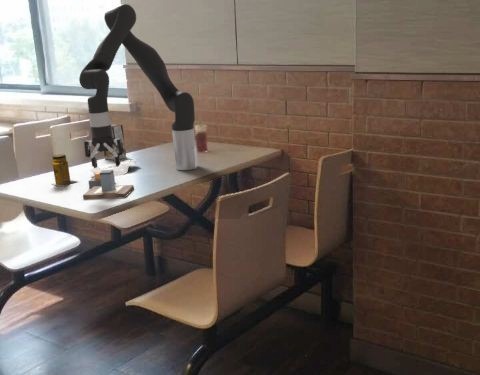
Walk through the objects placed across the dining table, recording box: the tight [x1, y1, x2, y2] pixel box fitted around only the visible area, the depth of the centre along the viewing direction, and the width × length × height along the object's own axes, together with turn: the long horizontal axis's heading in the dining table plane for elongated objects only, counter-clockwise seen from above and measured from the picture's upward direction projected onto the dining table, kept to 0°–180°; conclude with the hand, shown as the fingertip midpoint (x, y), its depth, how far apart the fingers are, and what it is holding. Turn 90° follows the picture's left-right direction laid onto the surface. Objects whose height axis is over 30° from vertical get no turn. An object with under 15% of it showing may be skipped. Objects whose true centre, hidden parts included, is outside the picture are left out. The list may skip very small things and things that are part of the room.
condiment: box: [52, 154, 78, 187], centre depth 246 cm, size 7×8×12 cm
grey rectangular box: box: [100, 169, 116, 191], centre depth 225 cm, size 4×4×7 cm
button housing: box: [88, 176, 116, 189], centre depth 239 cm, size 8×8×3 cm
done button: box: [93, 172, 100, 180], centre depth 238 cm, size 4×4×3 cm
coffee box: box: [103, 124, 127, 161], centre depth 288 cm, size 9×6×16 cm
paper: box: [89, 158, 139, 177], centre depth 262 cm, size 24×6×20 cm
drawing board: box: [82, 184, 135, 200], centre depth 226 cm, size 16×12×2 cm
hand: (106, 166), depth 223 cm, fingers open, 8 cm apart
